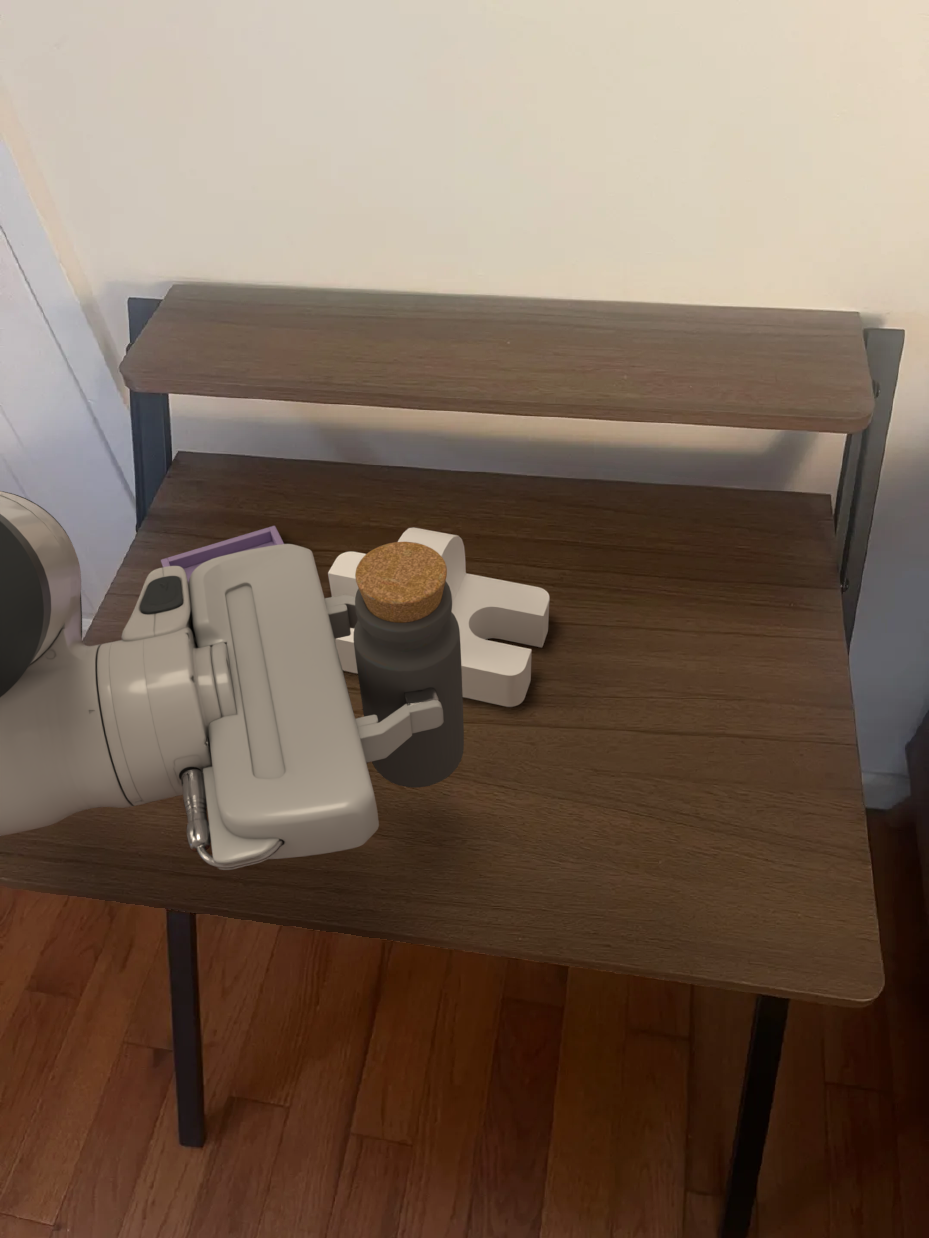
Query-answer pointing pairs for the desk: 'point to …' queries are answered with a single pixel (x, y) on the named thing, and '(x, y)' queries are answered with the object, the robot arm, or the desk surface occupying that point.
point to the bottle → (410, 655)
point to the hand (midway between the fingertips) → (424, 658)
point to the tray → (224, 549)
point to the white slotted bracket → (470, 620)
